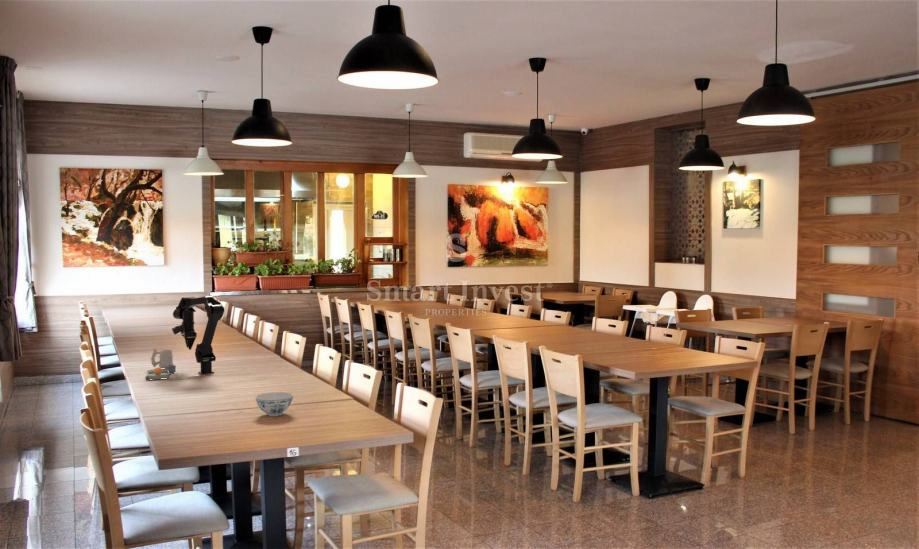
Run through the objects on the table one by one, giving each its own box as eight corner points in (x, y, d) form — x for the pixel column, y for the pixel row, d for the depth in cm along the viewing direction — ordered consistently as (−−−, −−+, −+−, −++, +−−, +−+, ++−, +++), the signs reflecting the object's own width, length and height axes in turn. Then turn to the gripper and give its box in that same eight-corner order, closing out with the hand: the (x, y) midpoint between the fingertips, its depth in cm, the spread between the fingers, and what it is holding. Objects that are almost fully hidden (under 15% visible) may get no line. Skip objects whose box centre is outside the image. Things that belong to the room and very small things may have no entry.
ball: (163, 375, 407) (163, 367, 407) (155, 376, 405) (155, 368, 405) (160, 374, 410) (160, 366, 410) (152, 375, 408) (152, 367, 407)
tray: (169, 379, 403) (169, 374, 403) (147, 380, 399) (147, 375, 399) (168, 374, 416) (168, 370, 416) (147, 376, 412) (146, 371, 412)
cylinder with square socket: (177, 372, 421) (177, 365, 421) (167, 374, 418) (167, 366, 417) (173, 371, 425) (172, 364, 425) (163, 372, 421) (163, 365, 421)
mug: (175, 368, 435) (174, 347, 435) (152, 370, 429) (151, 348, 429) (172, 366, 442) (171, 345, 441) (150, 368, 436) (149, 347, 435)
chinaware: (296, 410, 328) (296, 391, 328) (289, 418, 313) (289, 399, 313) (260, 410, 328) (259, 392, 327) (251, 418, 313) (251, 399, 312)
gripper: (170, 319, 432) (171, 347, 433) (174, 322, 416) (175, 351, 416) (192, 318, 437) (192, 346, 438) (196, 321, 421) (197, 350, 421)
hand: (188, 348), depth 428 cm, fingers open, 9 cm apart
